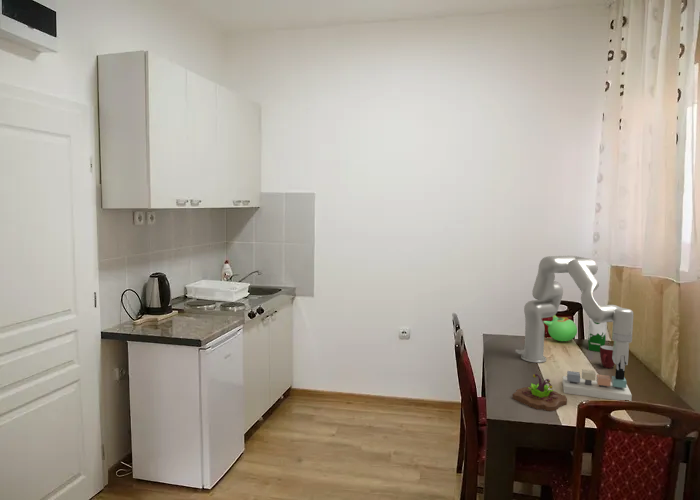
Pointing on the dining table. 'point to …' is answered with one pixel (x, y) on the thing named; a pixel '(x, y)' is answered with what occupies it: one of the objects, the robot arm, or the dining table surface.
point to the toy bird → (561, 328)
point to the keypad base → (596, 390)
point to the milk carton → (596, 335)
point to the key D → (618, 383)
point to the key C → (603, 380)
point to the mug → (607, 356)
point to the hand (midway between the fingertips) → (619, 378)
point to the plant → (540, 396)
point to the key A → (573, 376)
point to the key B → (588, 376)
